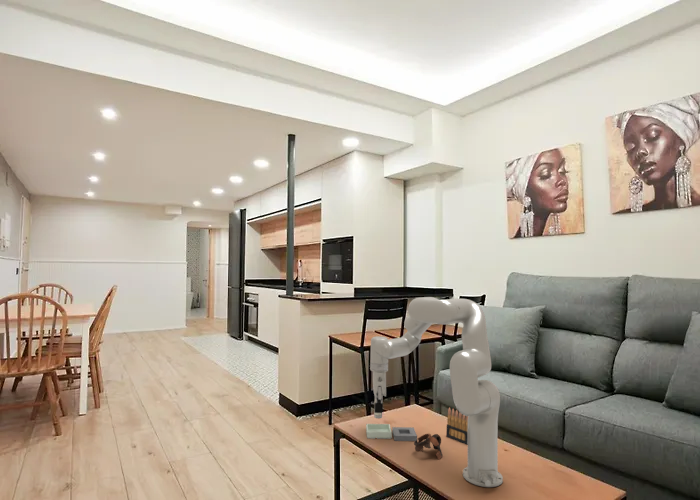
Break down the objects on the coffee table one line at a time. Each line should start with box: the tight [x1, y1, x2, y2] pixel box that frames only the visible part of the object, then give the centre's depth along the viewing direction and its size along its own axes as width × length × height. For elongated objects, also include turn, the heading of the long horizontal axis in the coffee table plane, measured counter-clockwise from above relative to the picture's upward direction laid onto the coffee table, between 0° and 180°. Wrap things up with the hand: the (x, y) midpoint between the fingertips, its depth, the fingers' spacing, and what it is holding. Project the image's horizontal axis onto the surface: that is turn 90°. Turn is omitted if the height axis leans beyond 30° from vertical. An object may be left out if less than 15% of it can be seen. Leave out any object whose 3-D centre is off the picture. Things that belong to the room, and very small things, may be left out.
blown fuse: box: [373, 394, 383, 420], centre depth 170 cm, size 3×3×9 cm
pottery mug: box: [413, 433, 443, 460], centre depth 153 cm, size 12×10×8 cm
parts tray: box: [365, 423, 393, 440], centre depth 170 cm, size 9×10×2 cm
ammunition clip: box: [445, 407, 468, 446], centre depth 165 cm, size 11×2×12 cm, turn 40°
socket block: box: [391, 426, 418, 442], centre depth 168 cm, size 9×9×2 cm
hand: (378, 410), depth 170 cm, fingers closed on blown fuse, 3 cm apart
